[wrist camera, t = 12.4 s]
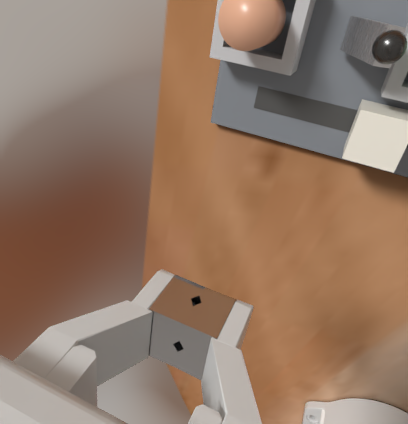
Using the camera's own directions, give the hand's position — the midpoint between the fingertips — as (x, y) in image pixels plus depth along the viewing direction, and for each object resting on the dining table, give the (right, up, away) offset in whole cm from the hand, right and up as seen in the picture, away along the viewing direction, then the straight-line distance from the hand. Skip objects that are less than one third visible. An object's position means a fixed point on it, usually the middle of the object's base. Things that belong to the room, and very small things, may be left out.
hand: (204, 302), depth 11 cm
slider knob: (+15, +10, +20) cm, 26 cm away
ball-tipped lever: (+11, +16, +17) cm, 26 cm away
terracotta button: (+4, +18, +17) cm, 25 cm away
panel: (+12, +15, +20) cm, 27 cm away
